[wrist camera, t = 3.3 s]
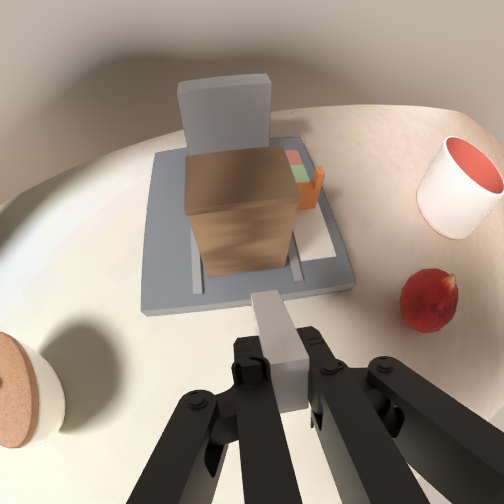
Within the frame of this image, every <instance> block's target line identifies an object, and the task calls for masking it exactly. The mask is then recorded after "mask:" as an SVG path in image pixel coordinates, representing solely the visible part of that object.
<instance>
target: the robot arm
mask: <svg viewBox="0 0 504 504" xmlns="http://www.w3.org/2000/svg"><path fill="white" fill-rule="evenodd" d="M251 300H252V309H253V317H254V326H255V334H256V336H249V337H242V338H237V340H236V341H235V343H234V344H233V346H234V363H233V364H232V367H231V369H232V374H233V379H234V385H233V386H232V387H231V388H230V389H228V390H227V391H225V392H222V393H220V394H217V395H214V394H213V393H211V392H210V391H206V390H194V391H190V392H188V393H186V394H185V395H183V396H182V398H181V399H180V400H179V402H178V404H177V406H176V408H175V410H174V412H173V414H172V416H171V418H170V420H169V422H168V424H167V426H166V427H165V429H164V431H163V433H162V435H161V437H160V439H159V441H158V443H157V445H156V447H155V449H154V451H153V453H152V455H151V456H150V458H149V460H148V462H147V464H146V466H145V468H144V470H143V472H142V474H141V476H140V478H139V480H138V481H137V483H136V485H135V487H134V489H133V491H132V493H131V495H130V497H129V499H128V501H127V503H126V504H211V503H212V500H213V497H214V493H215V490H216V487H217V483H218V480H219V477H220V473H221V470H222V466H223V463H224V459H225V456H226V452H227V449H228V444H229V443H231V442H234V441H237V440H239V449H240V460H241V471H242V481H243V491H244V501H245V504H303V503H302V499H301V496H300V492H299V488H298V484H297V480H296V476H295V472H294V469H293V465H292V461H291V457H290V453H289V449H288V445H287V441H286V437H285V433H284V429H283V425H282V421H281V417H280V413H285V412H291V411H296V410H301V409H306V408H308V403H309V402H310V405H311V428H314V425H315V428H316V431H317V434H318V437H319V439H320V442H321V445H322V448H323V450H324V453H325V456H326V459H327V462H328V464H329V467H330V470H331V473H332V475H333V478H334V481H335V484H336V487H337V489H338V492H339V495H340V498H341V500H342V503H343V504H430V502H429V500H428V499H427V497H426V495H425V494H424V492H423V490H422V488H421V487H420V485H419V483H418V481H417V480H416V478H415V476H414V474H413V473H412V471H411V469H410V468H409V466H408V464H409V465H410V466H411V467H412V468H413V469H414V470H416V471H417V472H418V473H419V474H420V475H421V476H422V477H423V478H424V479H425V480H426V481H427V482H429V483H430V484H431V485H432V486H433V487H434V488H435V489H436V490H438V491H439V492H440V493H441V494H442V495H443V496H444V497H445V498H446V499H448V500H449V501H450V502H451V503H452V504H504V432H502V431H501V430H499V429H498V428H496V427H495V426H493V425H492V424H490V423H489V422H487V421H486V420H484V419H483V418H481V417H480V416H479V415H477V414H476V413H474V412H473V411H471V410H470V409H468V408H467V407H465V406H464V405H462V404H461V403H460V402H458V401H457V400H455V399H454V398H452V397H451V396H449V395H448V394H446V393H445V392H443V391H442V390H441V389H439V388H438V387H436V386H435V385H433V384H432V383H430V382H429V381H427V380H426V379H425V378H423V377H422V376H420V375H419V374H417V373H416V372H414V371H413V370H411V369H410V368H409V367H407V366H406V365H404V364H403V363H401V362H400V361H398V360H397V359H395V358H393V357H388V356H380V357H377V358H374V359H373V360H371V361H370V363H369V365H368V368H350V367H348V366H347V365H346V364H345V363H344V362H343V361H341V360H339V359H336V358H335V357H334V355H333V353H332V352H331V350H330V348H329V347H328V345H327V344H326V343H325V340H324V339H323V338H322V335H321V334H320V332H319V331H318V330H317V329H315V328H314V327H312V326H309V327H303V328H298V329H296V328H295V326H294V324H293V322H292V320H291V318H290V316H289V313H288V311H287V309H286V307H285V305H284V303H283V301H282V299H281V297H280V294H279V292H278V290H272V291H265V292H257V293H251ZM406 462H407V463H408V464H407V463H406Z"/></svg>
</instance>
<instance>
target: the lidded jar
mask: <svg viewBox="0 0 504 504" xmlns="http://www.w3.org/2000/svg"><path fill="white" fill-rule="evenodd" d="M65 409H66V401H65V395H64V392H63V388H62V385H61V383H60V380H59V378H58V376H57V374H56V373H55V371H54V369H53V368H52V367H51V365H50V364H49V363H48V362H47V361H46V359H45V358H43V357H42V356H41V355H40V354H39V353H38V352H36V351H35V350H33V349H32V348H30V347H29V346H27V345H26V344H24V343H22V342H20V341H18V340H16V339H15V338H13V337H12V336H10V335H8V334H5V333H3V332H0V445H1V446H3V447H6V448H21V447H29V446H36V445H40V444H42V443H45V442H47V441H49V440H50V439H51V438H53V437H54V436H55V435H56V434H57V432H58V431H59V429H60V427H61V425H62V423H63V420H64V416H65Z"/></svg>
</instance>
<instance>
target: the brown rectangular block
mask: <svg viewBox="0 0 504 504" xmlns="http://www.w3.org/2000/svg"><path fill="white" fill-rule="evenodd" d="M300 200H301V195H300V192H299V189H298V186H297V183H296V180H295V177H294V175H293V172H292V169H291V166H290V163H289V161H288V158H287V155H286V152H285V150H284V147H283V146H274V147H260V148H248V149H238V150H229V151H220V152H212V153H204V154H197V155H190V156H186V159H185V188H184V211H185V215H186V216H188V218H189V221H190V224H191V227H192V231H193V234H194V237H195V240H196V243H197V246H198V249H199V252H200V256H201V259H202V262H203V265H204V268H205V271H206V274H207V276H208V277H212V276H220V275H228V274H236V273H244V272H252V271H259V270H267V269H274V268H282V267H285V263H286V259H287V254H288V249H289V244H290V239H291V235H292V230H293V225H294V220H295V215H296V210H297V205H298V203H300Z"/></svg>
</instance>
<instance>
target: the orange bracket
mask: <svg viewBox="0 0 504 504" xmlns="http://www.w3.org/2000/svg"><path fill="white" fill-rule="evenodd" d="M323 178H324V172H323V170H322V167H315V170H314V175H313V179H312V182H304V183H297V186H298V189H299V192H300V195H301V200H300V203H298V205H297V210H305V209H315V208H316V204H317V200H318V197H319V193H320V189H321V185H322V182H323Z"/></svg>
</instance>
